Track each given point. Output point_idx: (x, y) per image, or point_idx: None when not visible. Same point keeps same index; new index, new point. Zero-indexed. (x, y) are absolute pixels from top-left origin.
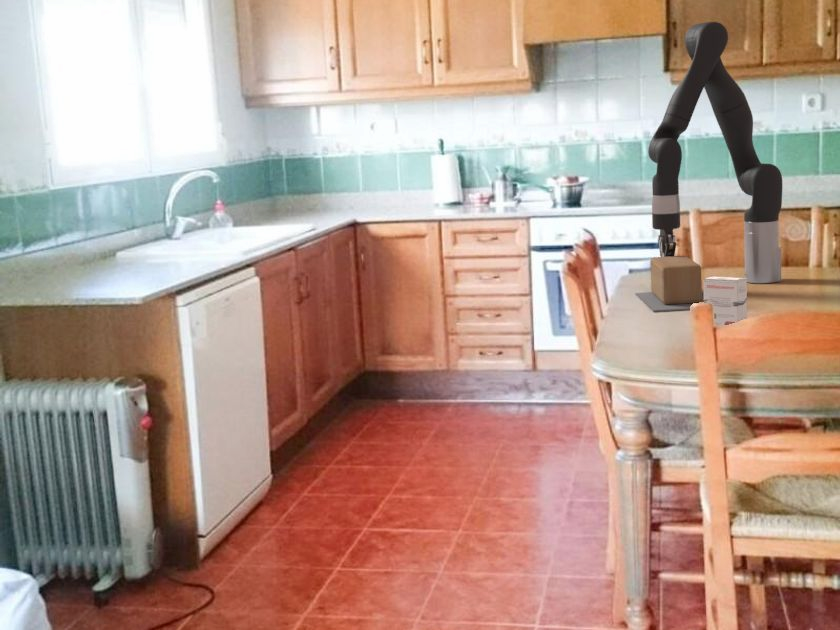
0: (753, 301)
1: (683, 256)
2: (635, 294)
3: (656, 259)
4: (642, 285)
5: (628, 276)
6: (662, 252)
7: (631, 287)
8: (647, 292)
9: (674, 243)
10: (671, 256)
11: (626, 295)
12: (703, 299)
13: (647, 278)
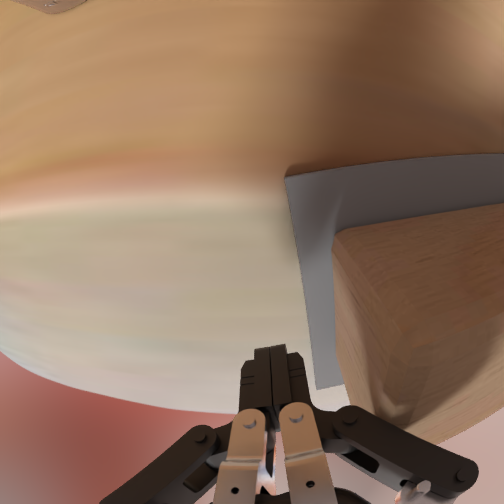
0: (498, 41)
1: (472, 355)
2: (320, 386)
3: (456, 434)
4: (129, 367)
5: (24, 367)
6: (274, 476)
7: (168, 393)
8: (317, 364)
9: (474, 476)
10: (417, 419)
11: (315, 400)
12: (499, 181)
13: (28, 338)
